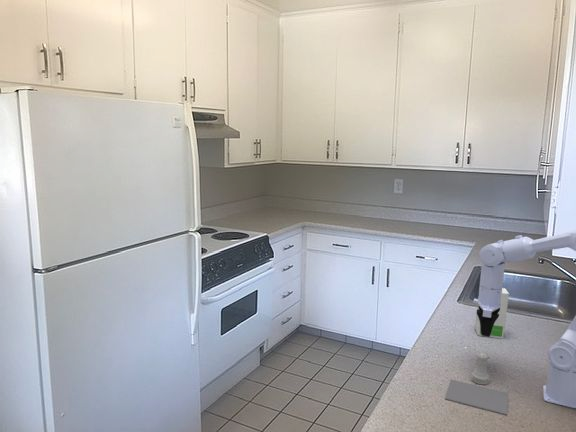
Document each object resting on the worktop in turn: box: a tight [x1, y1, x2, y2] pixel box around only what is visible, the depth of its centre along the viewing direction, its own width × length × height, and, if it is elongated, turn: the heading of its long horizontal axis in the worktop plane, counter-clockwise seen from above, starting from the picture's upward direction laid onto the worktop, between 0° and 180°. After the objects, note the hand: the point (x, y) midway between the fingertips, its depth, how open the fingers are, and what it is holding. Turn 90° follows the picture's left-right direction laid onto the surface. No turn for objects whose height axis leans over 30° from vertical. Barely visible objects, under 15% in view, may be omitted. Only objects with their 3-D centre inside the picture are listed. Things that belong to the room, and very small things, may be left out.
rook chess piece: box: [471, 350, 490, 386], centre depth 125 cm, size 4×4×8 cm
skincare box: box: [474, 287, 510, 340], centre depth 155 cm, size 8×7×16 cm
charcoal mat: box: [444, 379, 509, 416], centre depth 118 cm, size 14×10×1 cm
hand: (486, 333), depth 131 cm, fingers open, 3 cm apart
